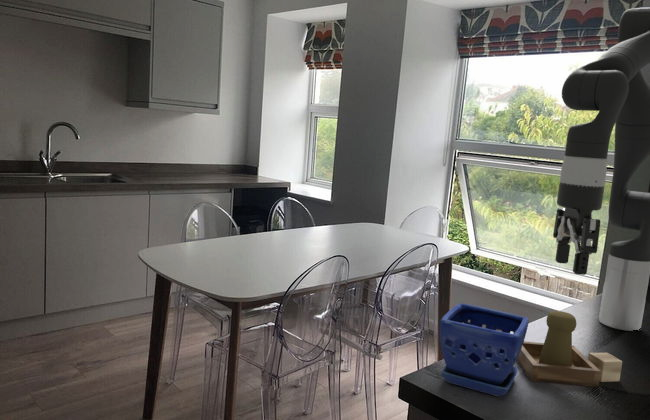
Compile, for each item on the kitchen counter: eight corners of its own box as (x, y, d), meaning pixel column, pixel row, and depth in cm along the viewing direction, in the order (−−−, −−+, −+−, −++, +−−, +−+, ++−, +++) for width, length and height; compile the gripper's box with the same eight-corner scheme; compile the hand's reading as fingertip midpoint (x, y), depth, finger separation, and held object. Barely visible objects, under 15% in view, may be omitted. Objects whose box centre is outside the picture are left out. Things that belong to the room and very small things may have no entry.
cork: (574, 377, 100) (583, 320, 98) (540, 371, 101) (547, 315, 100) (568, 364, 106) (576, 310, 104) (535, 359, 107) (543, 305, 105)
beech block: (586, 372, 104) (589, 352, 104) (603, 372, 105) (606, 352, 105) (601, 382, 100) (604, 361, 100) (619, 381, 101) (622, 361, 101)
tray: (511, 354, 110) (513, 340, 110) (571, 359, 110) (573, 345, 109) (531, 380, 98) (533, 365, 98) (598, 387, 98) (600, 371, 98)
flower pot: (451, 359, 106) (457, 300, 104) (522, 377, 100) (530, 315, 98) (431, 384, 94) (438, 318, 92) (510, 407, 88) (520, 337, 86)
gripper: (621, 187, 92) (607, 280, 95) (586, 180, 106) (574, 260, 109) (576, 184, 92) (564, 276, 95) (547, 177, 107) (537, 257, 109)
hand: (569, 268), depth 102 cm, fingers open, 8 cm apart
